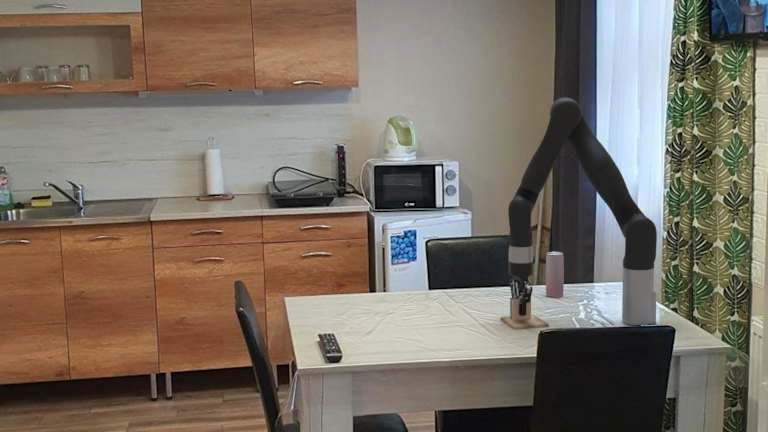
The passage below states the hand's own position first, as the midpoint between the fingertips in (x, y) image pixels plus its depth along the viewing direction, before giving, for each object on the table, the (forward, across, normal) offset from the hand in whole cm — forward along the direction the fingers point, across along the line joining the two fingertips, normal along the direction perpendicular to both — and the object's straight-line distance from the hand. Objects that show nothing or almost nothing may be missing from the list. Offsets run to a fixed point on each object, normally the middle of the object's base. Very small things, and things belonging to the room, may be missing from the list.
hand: (520, 313), depth 296 cm
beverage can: (+2, +28, -24) cm, 37 cm away
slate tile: (+1, 0, 0) cm, 1 cm away
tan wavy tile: (+2, -3, 0) cm, 3 cm away
